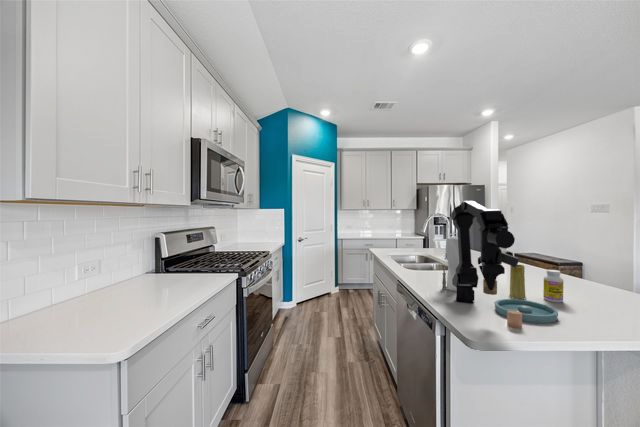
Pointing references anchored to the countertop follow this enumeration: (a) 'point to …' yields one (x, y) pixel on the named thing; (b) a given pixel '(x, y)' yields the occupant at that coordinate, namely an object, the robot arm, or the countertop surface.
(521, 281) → the vase
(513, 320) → the bead terracotta
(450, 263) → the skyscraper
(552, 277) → the supplement bottle
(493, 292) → the bead walnut
